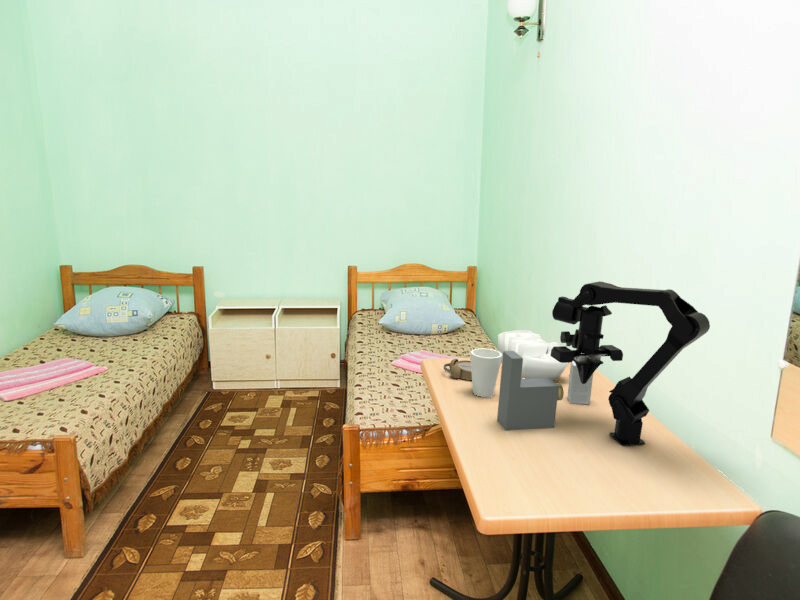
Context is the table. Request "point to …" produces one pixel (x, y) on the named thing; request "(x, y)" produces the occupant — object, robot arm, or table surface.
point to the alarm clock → (459, 369)
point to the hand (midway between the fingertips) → (583, 383)
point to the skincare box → (578, 387)
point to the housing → (525, 397)
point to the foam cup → (484, 371)
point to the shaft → (560, 392)
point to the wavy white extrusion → (532, 354)
